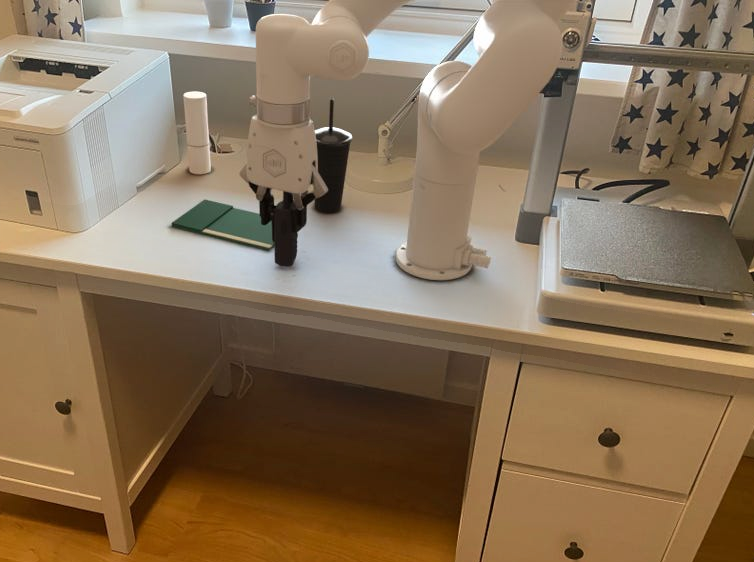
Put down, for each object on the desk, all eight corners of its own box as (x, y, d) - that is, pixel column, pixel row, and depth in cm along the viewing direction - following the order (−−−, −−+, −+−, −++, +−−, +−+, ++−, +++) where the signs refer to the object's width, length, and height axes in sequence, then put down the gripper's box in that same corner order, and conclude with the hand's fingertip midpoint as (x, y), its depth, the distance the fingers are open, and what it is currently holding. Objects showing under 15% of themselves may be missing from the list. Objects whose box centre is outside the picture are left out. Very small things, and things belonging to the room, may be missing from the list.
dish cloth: (297, 224, 134) (297, 220, 134) (268, 250, 126) (268, 246, 126) (204, 203, 140) (204, 199, 140) (171, 226, 132) (171, 222, 131)
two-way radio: (292, 270, 120) (293, 181, 111) (265, 267, 121) (263, 178, 112) (299, 254, 124) (300, 167, 116) (273, 251, 125) (272, 164, 116)
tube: (215, 170, 152) (210, 95, 144) (197, 176, 150) (191, 99, 141) (202, 164, 155) (197, 90, 146) (185, 169, 152) (178, 94, 144)
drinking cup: (344, 219, 137) (349, 108, 125) (303, 213, 138) (304, 103, 126) (351, 201, 143) (357, 95, 131) (312, 197, 144) (315, 90, 132)
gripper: (218, 107, 108) (223, 223, 119) (326, 128, 103) (322, 247, 113) (244, 93, 113) (247, 205, 124) (347, 112, 108) (341, 228, 119)
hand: (282, 224), depth 119 cm, fingers closed on two-way radio, 4 cm apart
